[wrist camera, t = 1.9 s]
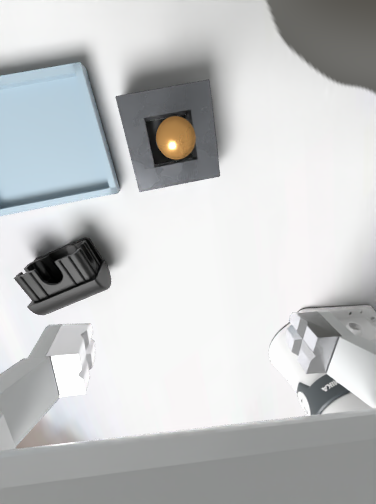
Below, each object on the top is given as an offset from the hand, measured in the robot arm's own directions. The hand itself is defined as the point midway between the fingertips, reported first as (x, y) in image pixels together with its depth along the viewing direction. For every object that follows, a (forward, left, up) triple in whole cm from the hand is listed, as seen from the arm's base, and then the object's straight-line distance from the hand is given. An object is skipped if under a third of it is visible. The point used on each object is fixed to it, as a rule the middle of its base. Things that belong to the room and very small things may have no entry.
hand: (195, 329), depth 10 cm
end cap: (+16, +8, -28) cm, 33 cm away
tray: (+14, -9, -28) cm, 33 cm away
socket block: (-2, -7, -28) cm, 29 cm away
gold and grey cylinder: (-2, -7, -28) cm, 29 cm away
